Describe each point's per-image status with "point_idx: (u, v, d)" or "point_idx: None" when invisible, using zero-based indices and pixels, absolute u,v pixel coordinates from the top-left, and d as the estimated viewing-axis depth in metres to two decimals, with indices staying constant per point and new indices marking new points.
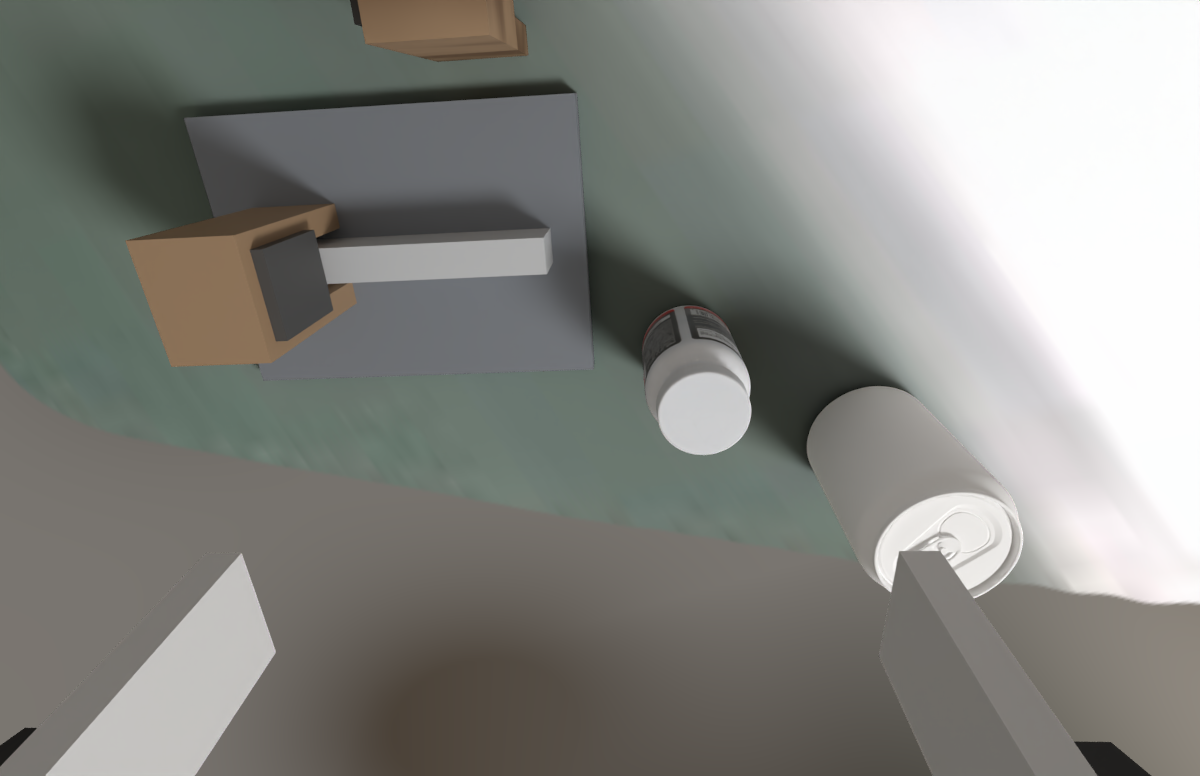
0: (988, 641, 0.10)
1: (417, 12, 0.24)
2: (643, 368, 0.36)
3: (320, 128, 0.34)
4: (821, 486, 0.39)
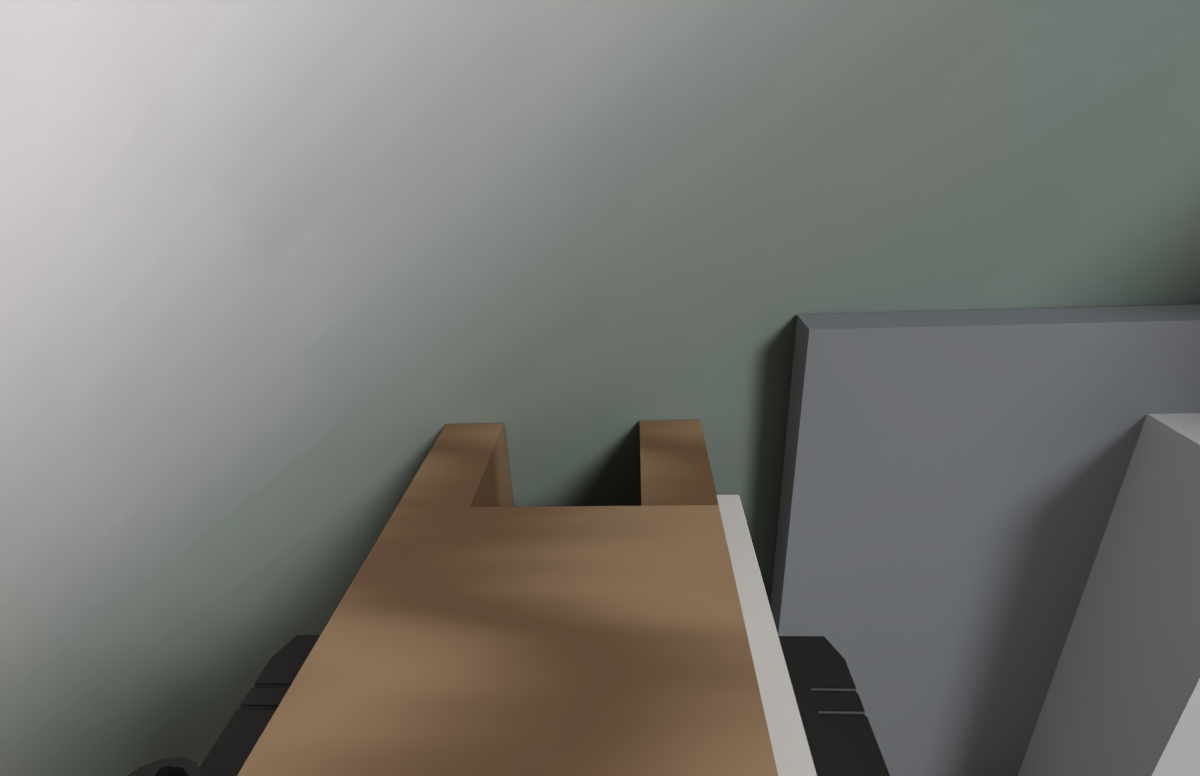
0: (745, 560, 0.12)
1: None
2: None
3: None
4: None
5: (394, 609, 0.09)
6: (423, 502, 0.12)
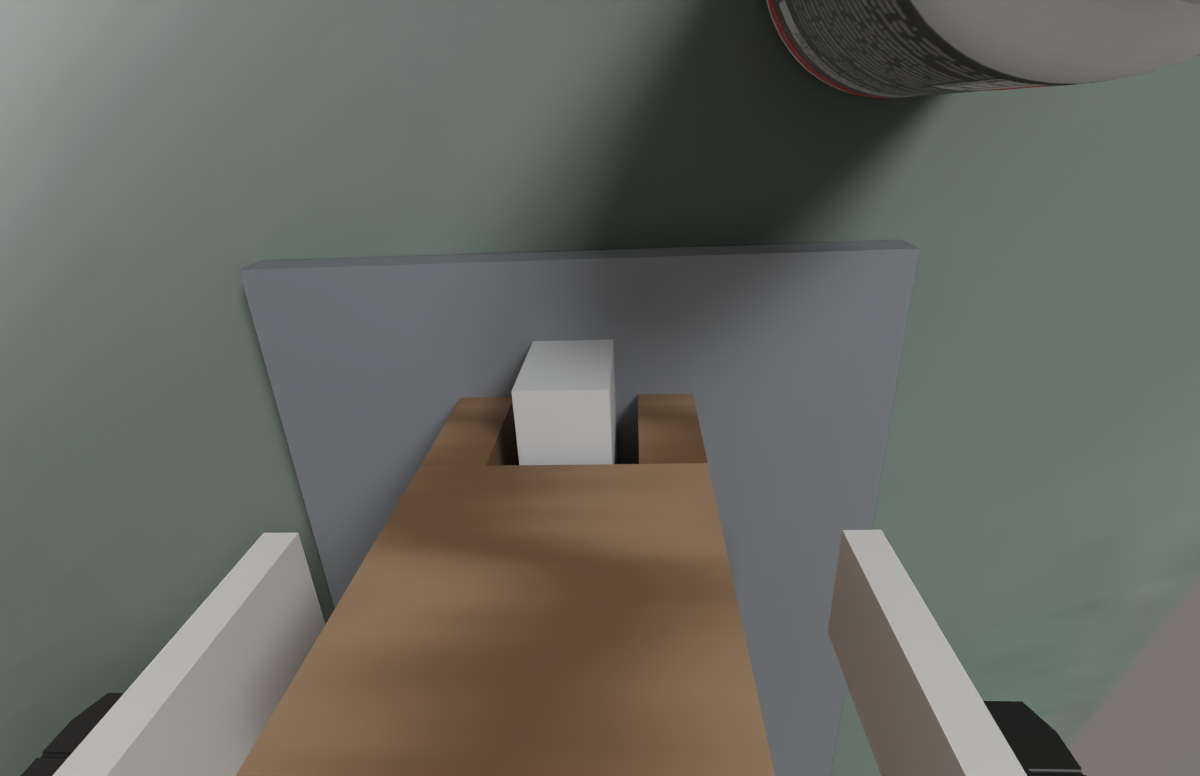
0: (915, 610, 0.10)
1: None
2: (956, 92, 0.10)
3: None
4: None
5: (423, 545, 0.11)
6: (444, 462, 0.13)
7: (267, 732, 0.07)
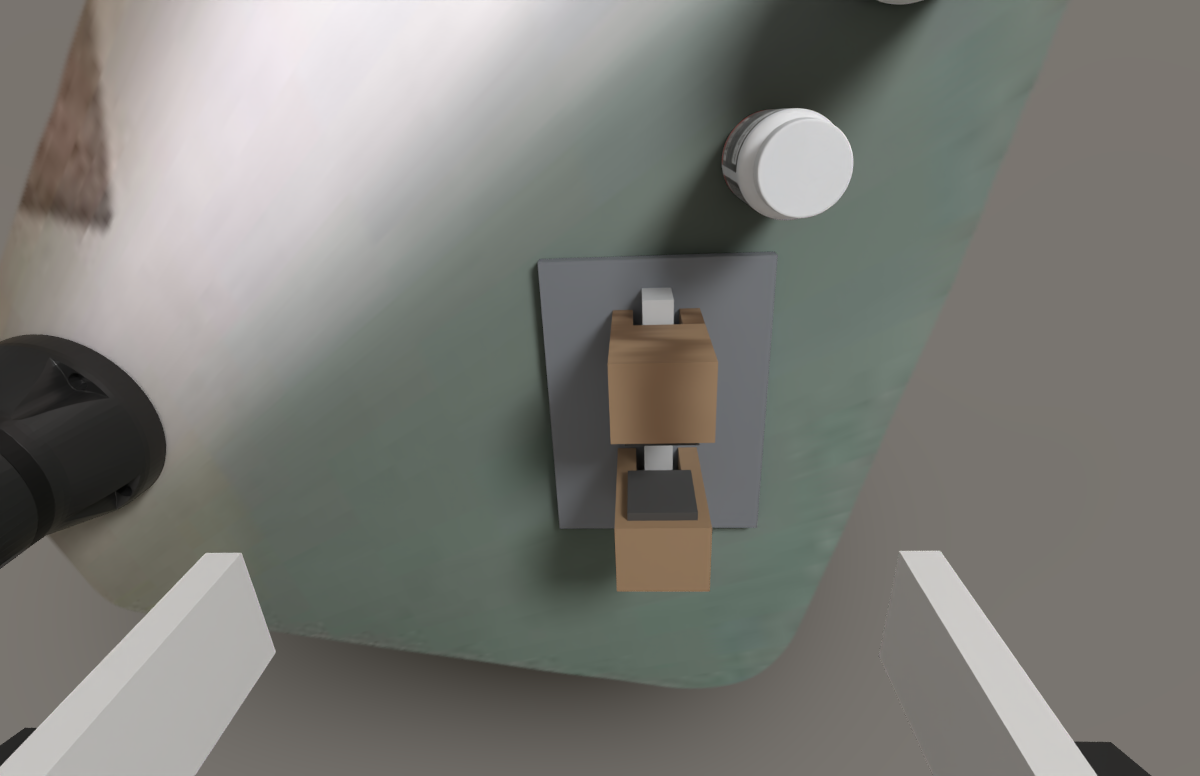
0: (988, 641, 0.10)
1: (699, 407, 0.35)
2: None
3: (565, 447, 0.48)
4: None
5: (624, 339, 0.37)
6: (618, 325, 0.40)
7: (609, 360, 0.34)
